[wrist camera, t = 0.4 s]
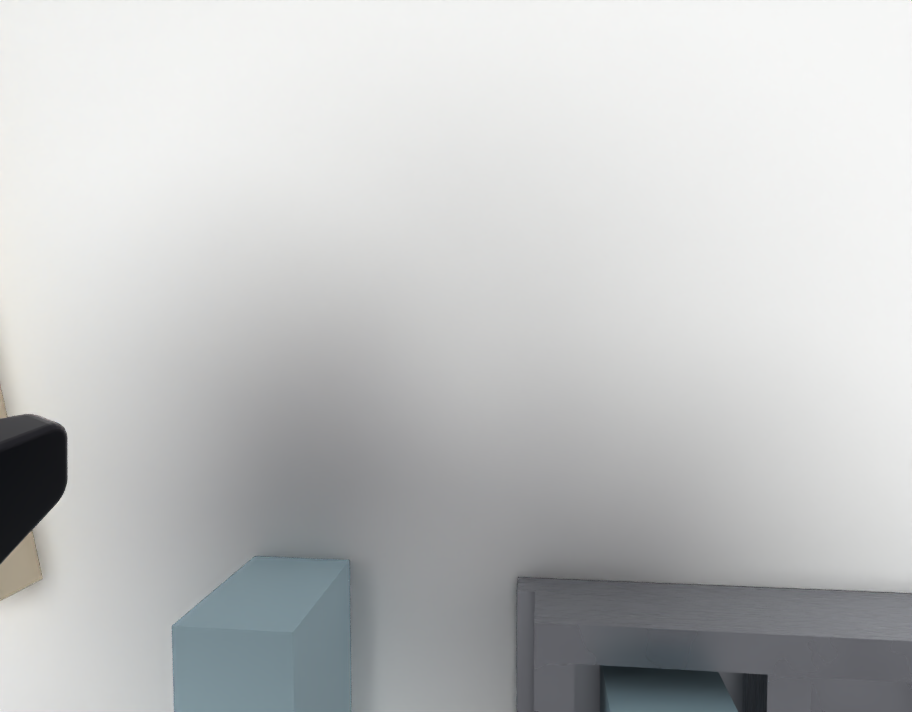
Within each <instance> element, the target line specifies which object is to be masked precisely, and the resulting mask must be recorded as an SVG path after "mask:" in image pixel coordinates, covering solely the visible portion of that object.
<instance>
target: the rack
mask: <svg viewBox="0 0 912 712" xmlns="http://www.w3.org/2000/svg"><path fill="white" fill-rule="evenodd" d="M600 665H605V666H623V667H641V668H659V669H676V670H694V671H712V672H719V674H720V676H721V678H722V680H723V682H724V684H725V686H726V688H727V690H728V692H729V694H730V696H731V698H732V700H733V702H734V704H735V706H736V708H737V710H738V712H912V594H908V593H884V592H859V591H835V590H811V589H787V588H763V587H739V586H715V585H691V584H667V583H643V582H618V581H594V580H570V579H546V578H522V577H518V586H517V712H600Z"/></svg>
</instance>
